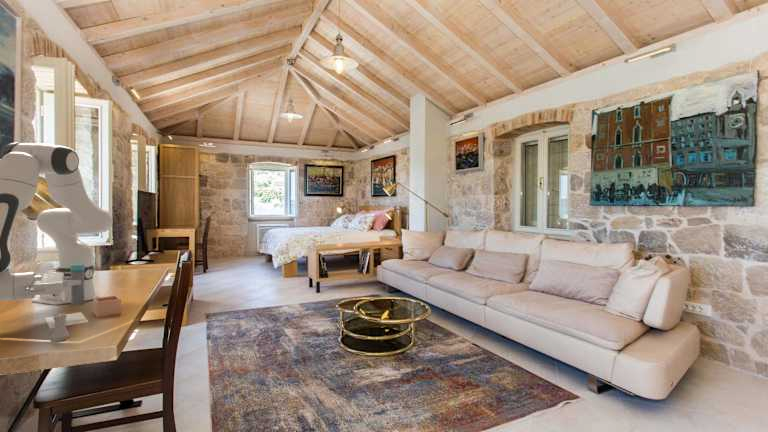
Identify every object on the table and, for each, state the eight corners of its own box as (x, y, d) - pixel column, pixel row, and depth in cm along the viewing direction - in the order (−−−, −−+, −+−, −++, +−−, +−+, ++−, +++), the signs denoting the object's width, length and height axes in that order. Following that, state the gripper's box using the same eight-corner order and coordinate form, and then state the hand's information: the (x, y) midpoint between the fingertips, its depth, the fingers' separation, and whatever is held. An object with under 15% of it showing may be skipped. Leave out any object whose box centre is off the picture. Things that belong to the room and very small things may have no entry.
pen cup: (93, 314, 139) (93, 298, 139) (116, 310, 144) (116, 295, 144) (96, 318, 134) (96, 302, 134) (120, 314, 139) (120, 298, 139)
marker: (68, 305, 131) (67, 265, 130) (77, 302, 135) (77, 263, 134) (78, 305, 131) (77, 265, 130) (87, 302, 134) (87, 264, 134)
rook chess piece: (58, 337, 115) (58, 311, 115) (73, 337, 115) (73, 311, 115) (46, 343, 110) (46, 316, 110) (62, 342, 111) (62, 316, 111)
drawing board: (37, 319, 132) (37, 317, 132) (83, 312, 141) (83, 310, 141) (41, 333, 118) (41, 331, 118) (93, 324, 128) (93, 322, 128)
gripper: (24, 281, 116) (81, 276, 125) (29, 271, 132) (80, 267, 140) (24, 301, 116) (81, 295, 125) (30, 288, 132) (80, 283, 141)
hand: (80, 280), depth 133 cm, fingers closed on marker, 4 cm apart
